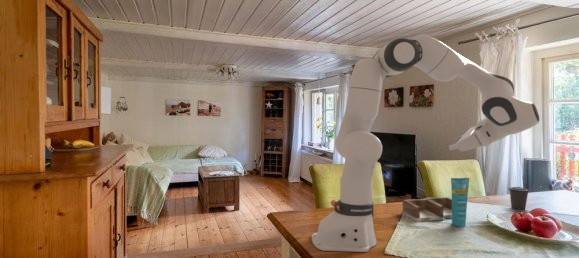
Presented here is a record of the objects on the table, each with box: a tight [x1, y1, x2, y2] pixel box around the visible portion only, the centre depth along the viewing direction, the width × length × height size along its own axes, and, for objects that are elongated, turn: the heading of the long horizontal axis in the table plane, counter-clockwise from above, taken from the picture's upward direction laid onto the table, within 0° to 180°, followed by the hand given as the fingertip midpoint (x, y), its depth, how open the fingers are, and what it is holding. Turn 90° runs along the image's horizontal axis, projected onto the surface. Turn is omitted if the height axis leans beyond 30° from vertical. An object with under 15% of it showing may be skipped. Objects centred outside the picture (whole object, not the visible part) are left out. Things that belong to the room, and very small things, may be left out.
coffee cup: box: [508, 186, 530, 211], centre depth 153 cm, size 8×8×10 cm
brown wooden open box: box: [402, 198, 444, 222], centre depth 140 cm, size 12×12×6 cm
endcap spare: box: [422, 196, 452, 219], centre depth 144 cm, size 12×12×6 cm
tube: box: [450, 177, 470, 228], centre depth 129 cm, size 7×5×19 cm, turn 98°
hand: (453, 144), depth 128 cm, fingers open, 8 cm apart
